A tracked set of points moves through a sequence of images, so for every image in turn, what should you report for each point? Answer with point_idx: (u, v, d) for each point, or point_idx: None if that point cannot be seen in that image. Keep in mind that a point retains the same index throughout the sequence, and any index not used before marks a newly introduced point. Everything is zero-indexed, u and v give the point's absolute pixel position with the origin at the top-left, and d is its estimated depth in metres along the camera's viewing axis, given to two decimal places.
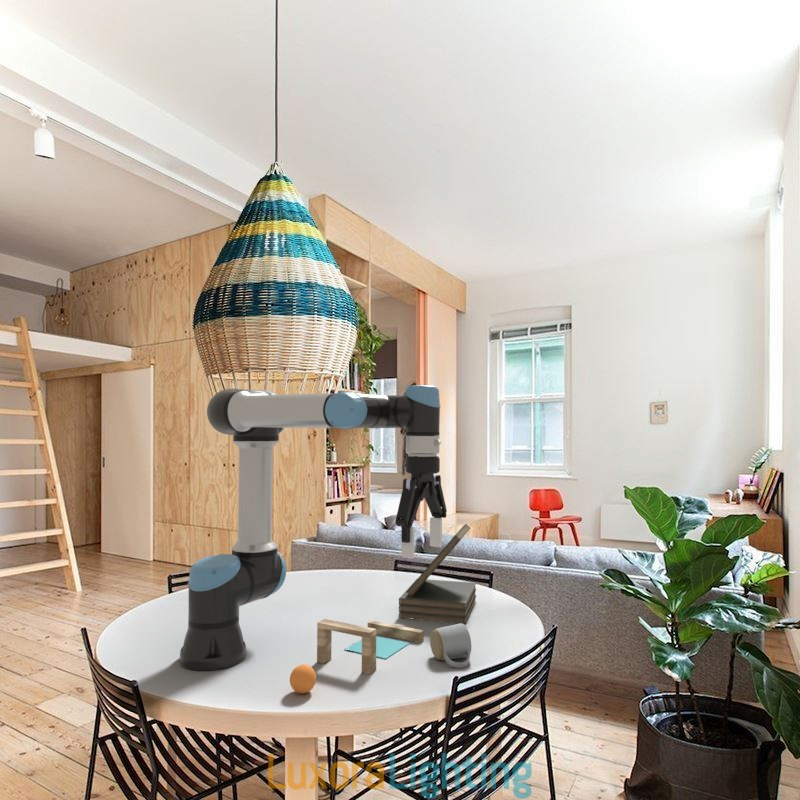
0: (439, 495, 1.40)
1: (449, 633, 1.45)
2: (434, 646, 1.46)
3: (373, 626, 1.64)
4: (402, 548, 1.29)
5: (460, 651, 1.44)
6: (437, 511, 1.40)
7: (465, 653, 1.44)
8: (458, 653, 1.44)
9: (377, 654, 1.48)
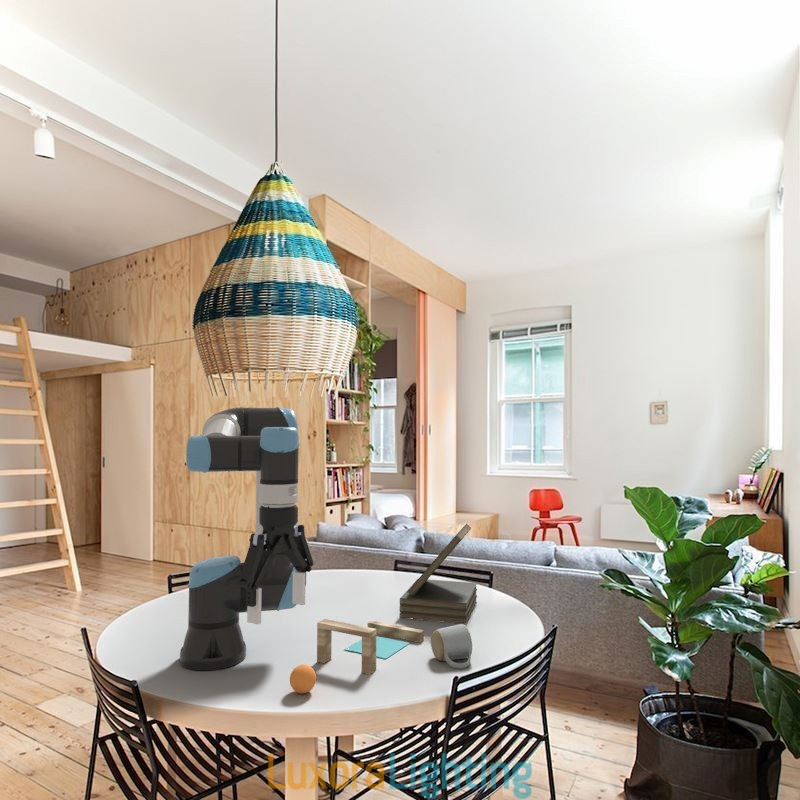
0: (303, 547, 1.26)
1: (450, 634, 1.44)
2: (435, 646, 1.45)
3: (373, 626, 1.64)
4: (248, 612, 1.15)
5: (461, 652, 1.43)
6: (300, 565, 1.26)
7: (466, 654, 1.44)
8: (459, 654, 1.43)
9: (377, 654, 1.48)
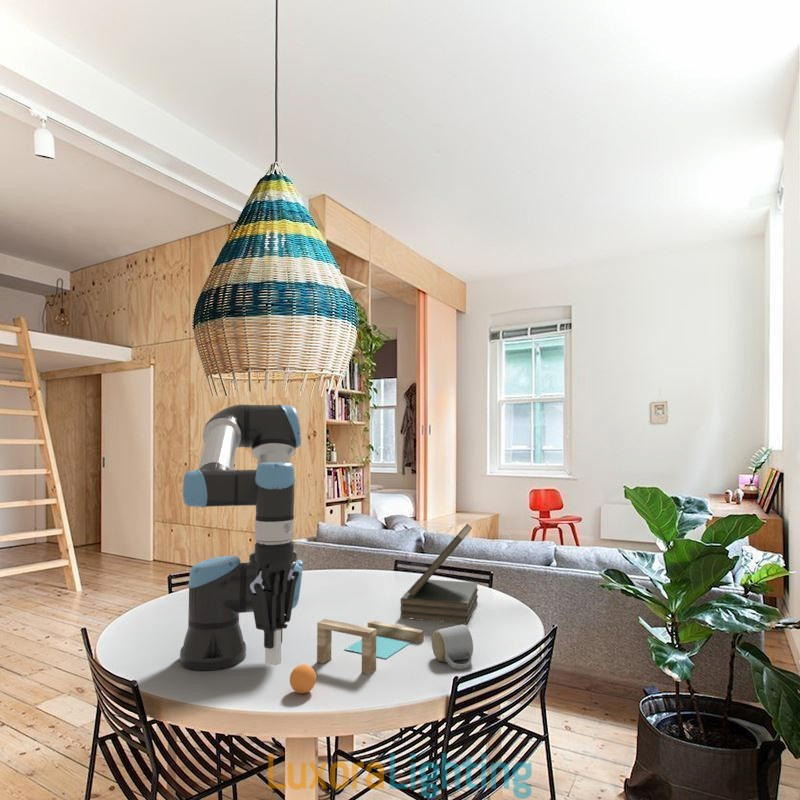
0: (288, 594, 1.23)
1: (450, 635, 1.44)
2: (436, 647, 1.45)
3: (373, 626, 1.64)
4: (266, 653, 1.19)
5: (462, 652, 1.43)
6: (278, 616, 1.20)
7: (467, 654, 1.43)
8: (460, 654, 1.43)
9: (377, 654, 1.48)
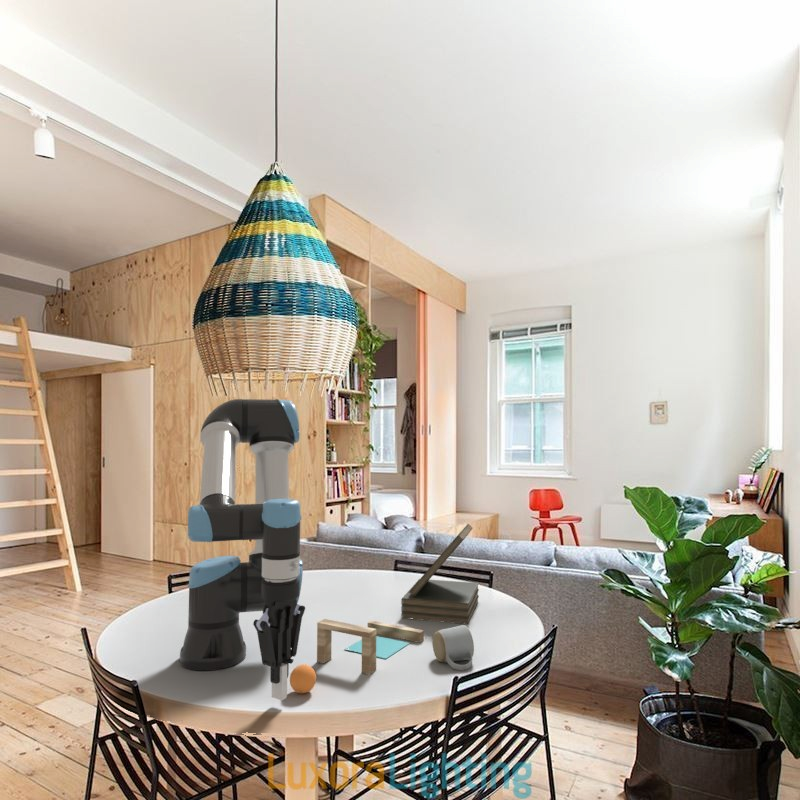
0: (295, 629, 1.24)
1: (451, 635, 1.43)
2: (437, 648, 1.45)
3: (373, 626, 1.64)
4: (272, 687, 1.21)
5: (462, 653, 1.43)
6: (284, 651, 1.22)
7: (467, 655, 1.43)
8: (460, 655, 1.43)
9: (377, 654, 1.48)
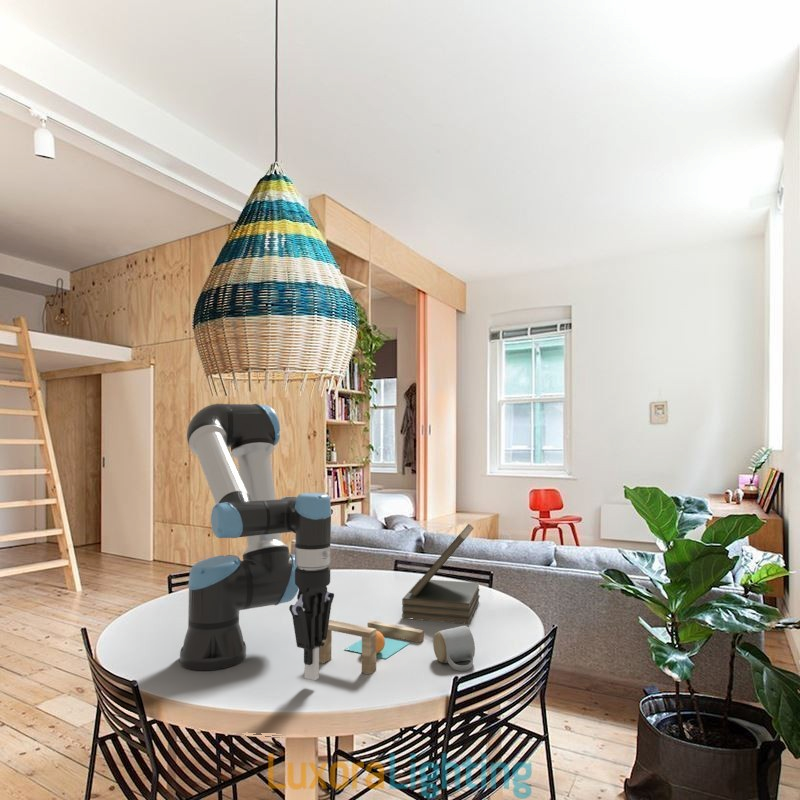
0: (325, 614, 1.33)
1: (452, 636, 1.43)
2: (437, 648, 1.44)
3: (373, 626, 1.64)
4: (305, 668, 1.30)
5: (463, 654, 1.42)
6: (316, 635, 1.31)
7: (468, 656, 1.43)
8: (461, 656, 1.42)
9: (377, 654, 1.48)
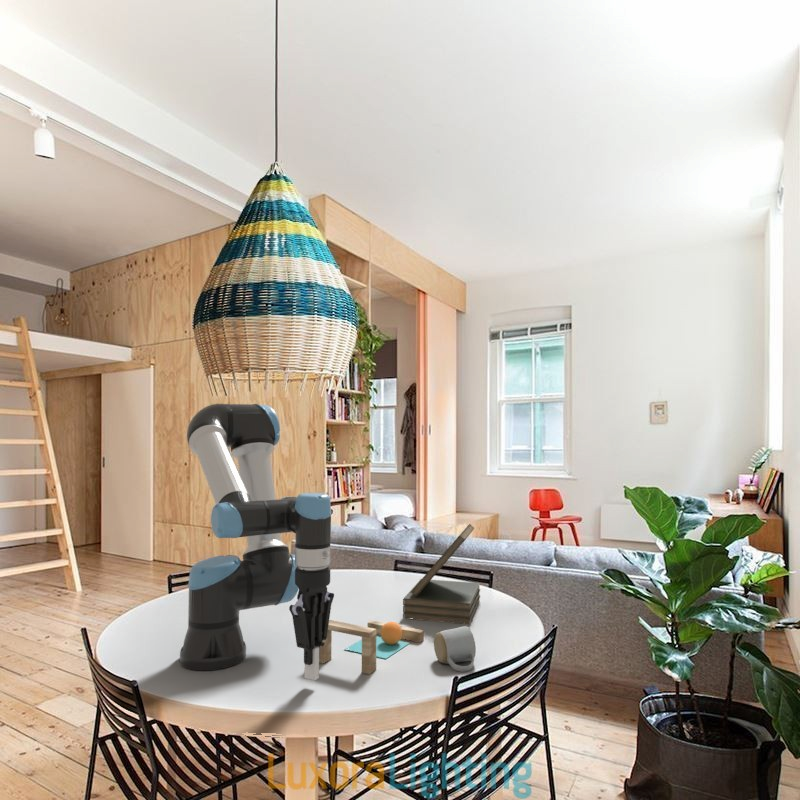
0: (325, 614, 1.33)
1: (453, 636, 1.42)
2: (438, 649, 1.44)
3: (373, 626, 1.64)
4: (305, 668, 1.30)
5: (464, 654, 1.42)
6: (316, 635, 1.31)
7: (469, 656, 1.42)
8: (462, 656, 1.42)
9: (377, 654, 1.48)
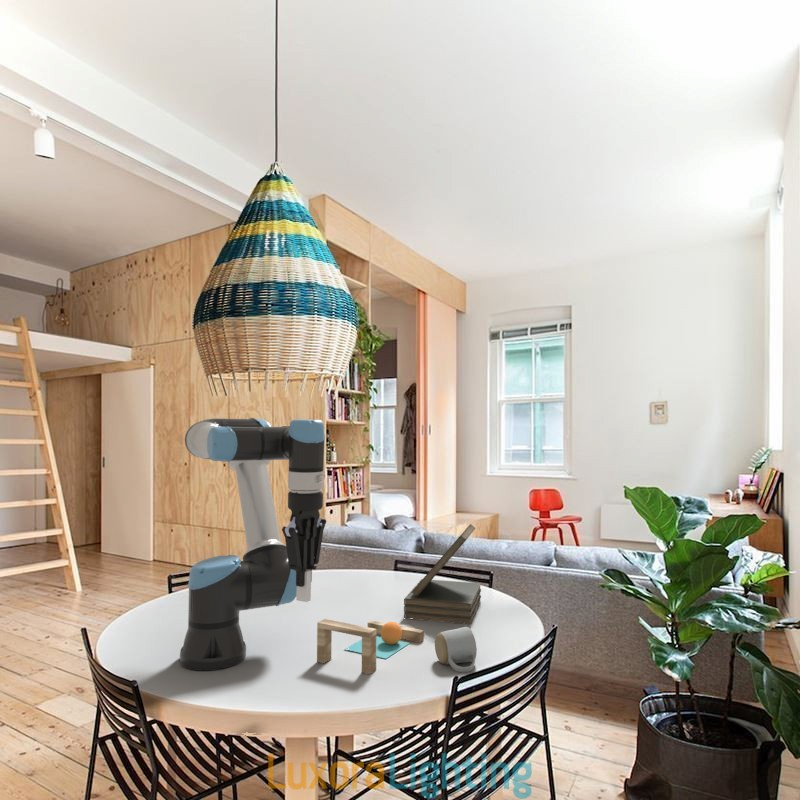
0: (317, 539, 1.35)
1: (454, 637, 1.42)
2: (439, 649, 1.43)
3: (373, 626, 1.64)
4: (297, 591, 1.31)
5: (465, 655, 1.41)
6: (308, 558, 1.32)
7: (470, 657, 1.42)
8: (463, 657, 1.41)
9: (377, 654, 1.48)
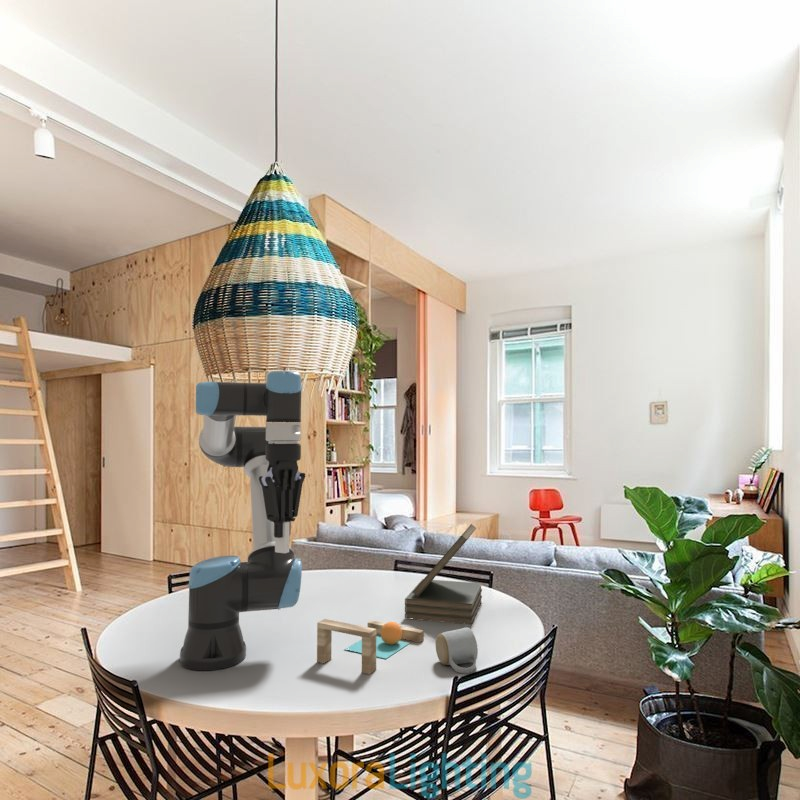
0: (296, 492, 1.35)
1: (454, 638, 1.42)
2: (440, 650, 1.43)
3: (373, 626, 1.64)
4: (276, 543, 1.31)
5: (466, 656, 1.41)
6: (287, 510, 1.32)
7: (471, 658, 1.41)
8: (464, 658, 1.41)
9: (377, 654, 1.48)
